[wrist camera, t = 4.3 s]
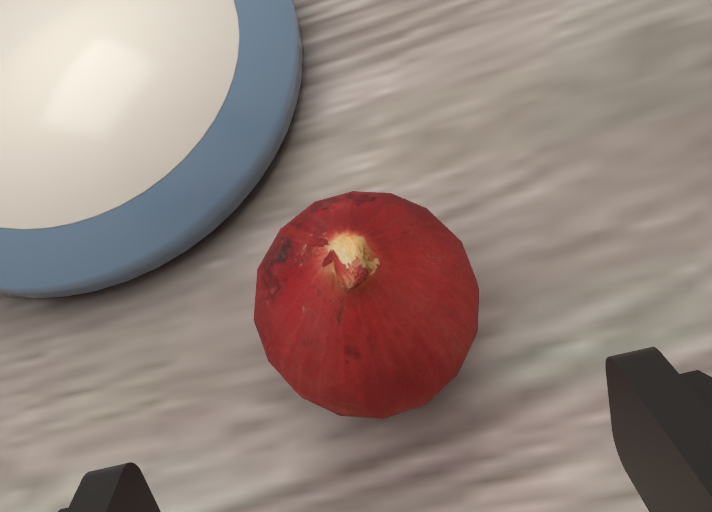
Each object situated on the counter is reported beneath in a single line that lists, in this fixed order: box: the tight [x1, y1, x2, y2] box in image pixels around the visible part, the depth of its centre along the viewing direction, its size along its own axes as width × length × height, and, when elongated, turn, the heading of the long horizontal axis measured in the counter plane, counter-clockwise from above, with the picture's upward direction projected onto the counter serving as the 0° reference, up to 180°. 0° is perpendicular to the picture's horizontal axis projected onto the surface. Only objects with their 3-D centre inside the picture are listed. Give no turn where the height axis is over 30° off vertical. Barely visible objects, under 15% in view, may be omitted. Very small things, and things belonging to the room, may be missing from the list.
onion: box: [254, 191, 479, 418], centre depth 17 cm, size 6×6×8 cm
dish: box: [0, 0, 303, 298], centre depth 25 cm, size 17×17×2 cm
